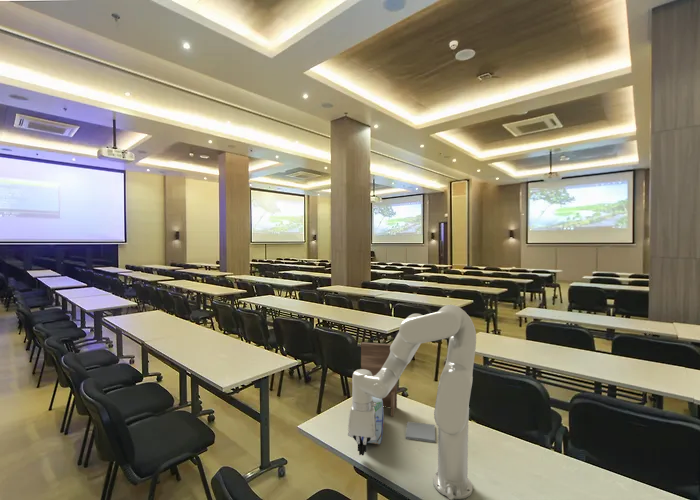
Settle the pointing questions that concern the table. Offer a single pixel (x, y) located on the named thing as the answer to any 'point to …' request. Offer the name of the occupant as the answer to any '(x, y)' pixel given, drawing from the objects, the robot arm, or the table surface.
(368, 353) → the display stand
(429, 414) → the table surface
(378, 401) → the lunch box
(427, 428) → the notebook
